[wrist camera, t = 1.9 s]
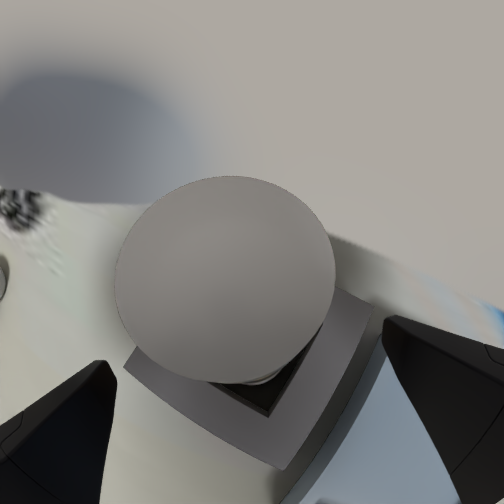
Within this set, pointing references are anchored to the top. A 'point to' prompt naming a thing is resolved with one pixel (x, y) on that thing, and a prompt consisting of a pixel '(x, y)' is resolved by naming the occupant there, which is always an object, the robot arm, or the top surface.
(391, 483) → the parts tray
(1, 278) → the ceramic mug
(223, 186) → the fuse
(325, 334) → the fuse holder
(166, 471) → the top surface
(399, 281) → the top surface
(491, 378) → the robot arm
